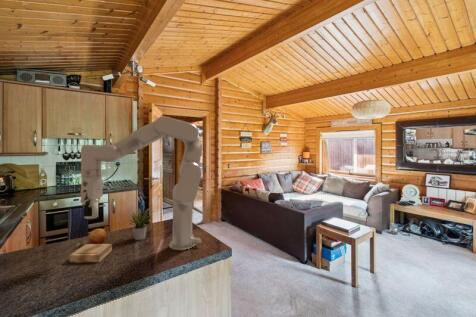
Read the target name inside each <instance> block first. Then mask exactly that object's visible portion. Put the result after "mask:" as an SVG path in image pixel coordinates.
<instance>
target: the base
mask: <svg viewBox="0 0 476 317" xmlns="http://www.w3.org/2000/svg"><path fill="white" fill-rule="evenodd" d="M112 251H113V243H102V244H91V243H85V244H83V245H82V246H80V247H79V248H78V249H76V250H75V251H74V252H72V253H70V254H69V263H101V261H102V260H103V259H104V258H105V257H107V256H108V254H110V253H111V252H112Z"/></svg>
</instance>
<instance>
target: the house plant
mask: <svg viewBox="0 0 476 317" xmlns="http://www.w3.org/2000/svg"><path fill="white" fill-rule="evenodd" d="M150 209H152V208H147V209H146V210H145V211H144V212H143V213H142V210H141V209H140V208H138V209H137V208H136V209H135V210H136V211H137V213H138V215H139V218H138V216H137V214H136V213H135V212H134V211H132V210H130V212H131V213H132V215H131V217H132V219H130V220H128V221H129V222H130V223H129V225H133V226H132V233H133V237H134V240H135V241H142V240H144V239H145V238H146V236H147V235H146V234H147V228H148V226H147V225H146V224H149V223H150V222H152V221H151V219H148V218H149V217H150V215H149V214H151V213H154V212H155V211H149V210H150ZM148 211H149V212H148ZM131 222H132V223H131Z"/></svg>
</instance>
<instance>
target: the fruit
mask: <svg viewBox="0 0 476 317" xmlns="http://www.w3.org/2000/svg"><path fill="white" fill-rule="evenodd" d="M87 239H88V242H89V244H104V243H105V242H106V239H107V233H106V231H105V229H104V228H95V229H93V230H92V231H90V232H89V233H88V235H87Z"/></svg>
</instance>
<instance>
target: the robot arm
mask: <svg viewBox="0 0 476 317" xmlns="http://www.w3.org/2000/svg"><path fill="white" fill-rule="evenodd" d="M164 137H170V138H174V139H176V140H180V141H182V142H183V143H184V151H183V156H182V160H181V163H180V166H179V170H178V173H179V179H178V182H177V183H176V184H175V185H174V186H173V189H172V241H171V242H170V243H169V246H168V247H169V248H170V249H171V250H174V251H186V249H188V250H191V249H193V248H194V247H195V246H196V243H197V244H198V243H199V244H200V243H202V238H200V237H199V236H198V237H195V236H194V234H193V212H194V211H193V210H194V209H193V202H194V201H195V200H196V198H197V194H198V191H199V186H200V183H201V179H202V169H201V167H200V163H201V157H202V153H203V144H202V140H201V137H200V136H199V129H198V126H196V125H195V124H193V123H192V122H191V123H190V122H187V121H184V120H180V119H176V118H173V117H169V116H165V115H164V116H160V117H158V118H156V120H154V121H152V122H150V123H147V124H146V125H144V126H142V127H139V128H137V129H135V130H134V131H133V132H131V133H130V134H129V135H127V136H126V137H124V138H122V139H121V140H118V141H117V142H114V143H112V144H107V145H106V144H105V145H95V144H84V145H82V146H81V147H80V148H81V149H80V156H81V157H80V171H81V172H80V175H81V182H80V203H81V204H82V207H83V216H84V217H85V216H92V207H91V203H92V200H95V199H98V198H99V201H98V213H99V212H100V200H101V198H102V197H103V194H104V192H103V191H104V190H103V189H104V188H103V187H104V186H103V180H102V162H105V163H113V162H115V161H118V160H120V159H122V158H123V157H126V156H128V155H130V154H132V153H134V152H135V151H137V150H141V149H143V148H145V147H147V146H149V145H151V144H153V143H155V142H157V141H159V140H161V139H162V138H164ZM86 199H90V200H86ZM86 201H89V203H88V202H86ZM192 247H193V248H192ZM190 248H191V249H190Z"/></svg>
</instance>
